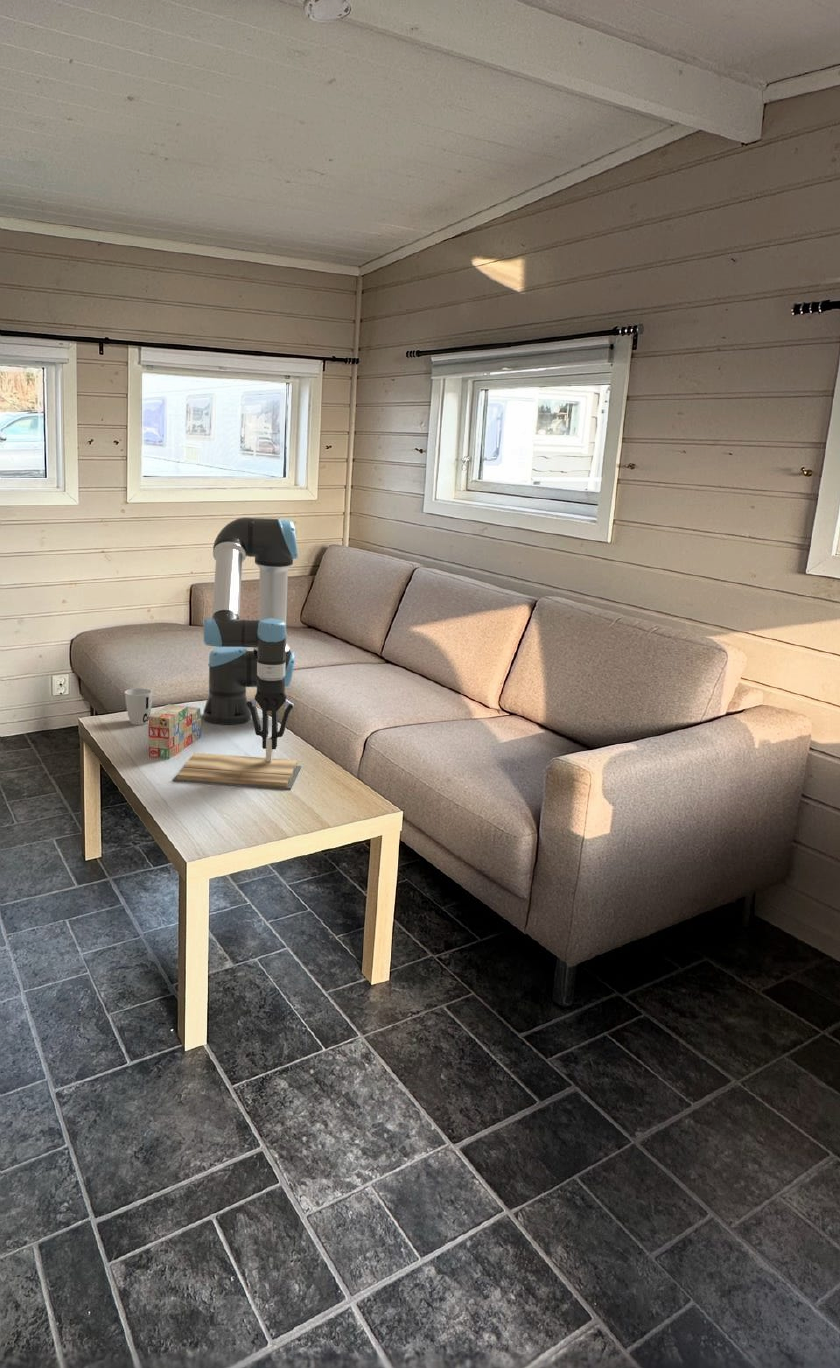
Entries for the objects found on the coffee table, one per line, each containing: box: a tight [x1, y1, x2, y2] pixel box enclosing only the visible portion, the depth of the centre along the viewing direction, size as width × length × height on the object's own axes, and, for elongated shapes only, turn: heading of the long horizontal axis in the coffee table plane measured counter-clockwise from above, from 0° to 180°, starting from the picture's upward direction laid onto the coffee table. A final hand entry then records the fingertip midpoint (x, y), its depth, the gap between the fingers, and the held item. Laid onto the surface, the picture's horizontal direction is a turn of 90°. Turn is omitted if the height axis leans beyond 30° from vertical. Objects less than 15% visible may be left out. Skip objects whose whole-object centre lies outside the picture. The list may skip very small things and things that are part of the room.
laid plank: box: [176, 767, 291, 787], centre depth 240 cm, size 6×29×1 cm, turn 88°
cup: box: [124, 687, 153, 726], centre depth 282 cm, size 8×8×10 cm
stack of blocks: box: [148, 703, 202, 760], centre depth 262 cm, size 21×6×12 cm, turn 170°
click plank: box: [183, 752, 298, 778], centre depth 248 cm, size 10×29×1 cm, turn 88°
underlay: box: [172, 764, 302, 791], centre depth 245 cm, size 17×31×1 cm, turn 88°
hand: (269, 759), depth 251 cm, fingers closed
